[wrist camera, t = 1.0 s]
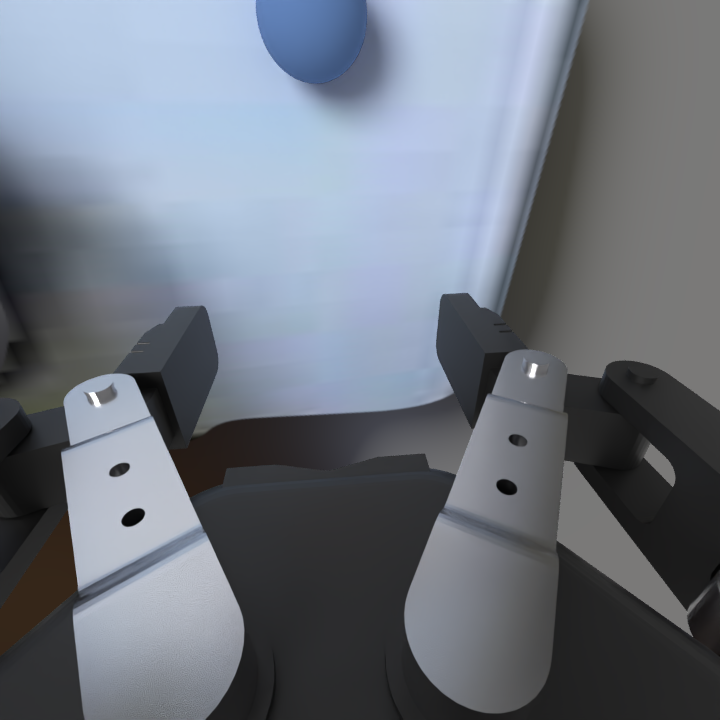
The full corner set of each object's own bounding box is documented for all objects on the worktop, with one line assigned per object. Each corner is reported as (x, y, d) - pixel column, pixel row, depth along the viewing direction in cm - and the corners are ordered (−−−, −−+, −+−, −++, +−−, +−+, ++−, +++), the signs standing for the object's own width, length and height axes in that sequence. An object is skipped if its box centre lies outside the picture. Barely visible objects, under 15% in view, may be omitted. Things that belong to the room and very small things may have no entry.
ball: (255, -42, 21) (236, -86, 16) (361, -42, 21) (372, -85, 16) (270, 86, 23) (258, 81, 19) (362, 84, 24) (372, 79, 19)
